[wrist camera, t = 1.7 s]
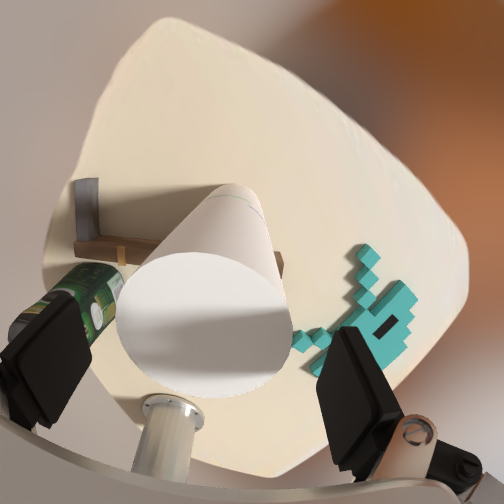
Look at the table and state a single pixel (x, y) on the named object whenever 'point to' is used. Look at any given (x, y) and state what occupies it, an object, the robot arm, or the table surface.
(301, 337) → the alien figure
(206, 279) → the cylindrical container
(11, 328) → the coffee jar
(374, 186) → the table surface
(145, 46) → the table surface
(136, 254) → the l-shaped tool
